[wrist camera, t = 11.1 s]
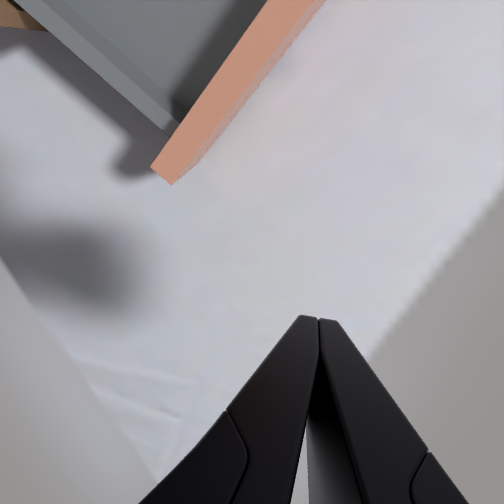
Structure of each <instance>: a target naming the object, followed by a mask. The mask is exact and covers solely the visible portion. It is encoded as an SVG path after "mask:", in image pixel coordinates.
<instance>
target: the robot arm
mask: <svg viewBox="0 0 504 504" xmlns="http://www.w3.org/2000/svg"><path fill="white" fill-rule="evenodd" d="M305 428H306V438H307V462H308V487H309V504H469V503H468V502H467V500H466V499H465V498H464V496H463V495H462V494H461V492H460V491H459V490H458V488H457V487H456V486H455V484H454V483H453V482H452V480H451V479H450V478H449V476H448V475H447V474H446V472H445V471H444V469H443V468H442V467H441V465H440V464H439V463H438V461H437V460H436V458H435V457H434V455H433V454H432V453H431V452H428V448H427V446H426V445H425V443H424V442H423V441H422V439H421V438H420V436H419V435H418V433H417V432H416V430H415V429H414V428H413V426H412V425H411V424H410V422H409V421H408V419H407V418H406V416H405V415H404V414H403V412H402V411H401V409H400V408H399V407H398V405H397V404H396V403H395V401H394V400H393V398H392V397H391V395H390V394H389V393H388V391H387V390H386V388H385V387H384V386H383V384H382V383H381V381H380V380H379V379H378V377H377V376H376V374H375V373H374V372H373V370H372V369H371V367H370V366H369V364H368V363H367V362H366V360H365V359H364V357H363V356H362V355H361V353H360V352H359V350H358V349H357V348H356V346H355V345H354V343H353V342H352V341H351V339H350V338H349V336H348V335H347V334H346V332H345V331H344V329H343V328H342V327H341V325H340V324H339V323H338V322H337V321H335V320H330V319H324V318H320V319H319V320H318V319H317V318H316V317H312V316H306V315H299V316H298V317H297V319H296V320H295V321H294V322H293V324H292V325H291V326H290V328H289V329H288V330H287V331H286V333H285V334H284V335H283V336H282V338H281V339H280V340H279V342H278V343H277V344H276V345H275V347H274V348H273V349H272V351H271V352H270V353H269V354H268V356H267V357H266V358H265V359H264V361H263V362H262V363H261V365H260V366H259V367H258V368H257V370H256V371H255V372H254V374H253V375H252V376H251V377H250V379H249V380H248V381H247V382H246V384H245V385H244V386H243V388H242V389H241V390H240V391H239V393H238V394H237V395H236V397H235V398H234V399H233V400H232V402H231V403H230V404H229V405H228V407H227V408H226V411H224V412H223V413H222V414H221V415H220V417H219V418H218V419H217V420H216V422H215V423H214V424H213V426H212V427H211V428H210V429H209V430H208V432H207V433H206V434H205V435H204V436H203V437H202V439H201V440H200V441H199V442H198V443H197V445H196V446H195V447H194V448H193V449H192V450H191V451H190V452H189V453H188V454H187V455H186V456H185V457H184V458H183V459H182V461H181V462H180V463H179V464H178V465H177V466H176V467H175V468H174V469H173V470H172V471H171V472H170V473H169V474H168V475H167V476H166V477H165V478H164V479H163V480H162V481H161V482H160V483H159V484H158V485H157V486H156V487H155V488H154V489H153V490H152V491H151V492H150V493H149V494H148V495H147V496H146V497H145V498H144V499H143V500H142V501H140V502H139V503H138V504H290V503H291V498H292V493H293V488H294V483H295V478H296V473H297V467H298V463H299V458H300V453H301V448H302V443H303V438H304V433H305ZM427 452H428V453H427Z"/></svg>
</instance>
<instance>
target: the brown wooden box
mask: <svg viewBox="0 0 504 504" xmlns="http://www.w3.org/2000/svg"><path fill="white" fill-rule="evenodd" d="M0 26H3V27H13V28H22V29H31V30H40V31H48V30H47V29H46V28H45V27H44V26H43V25H41V24H40V23H39V22H38V21H37V20H36V19H35V18H33V17H32V16H31V15H30V14H29V13H28V12H27V11H25V10H24V9H23V8H22V7H21V6H20V5H19V4H17V3H16V2H15V1H14V0H0Z"/></svg>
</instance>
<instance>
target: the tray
mask: <svg viewBox="0 0 504 504" xmlns="http://www.w3.org/2000/svg"><path fill="white" fill-rule="evenodd" d="M14 1H15V2H16V3H17V4H19V5H20V6H21V7H22V8H23V9H24V10H25V11H27V12H28V13H29V14H30V15H31V16H32V17H33V18H35V19H36V20H37V21H38V22H39V23H40V24H41V25H43V26H44V27H45V28H46V29H47V30H48V31H49V32H50V33H52V34H53V35H54V36H55V37H56V38H57V39H58V40H60V41H61V42H62V43H63V44H64V45H65V46H66V47H68V48H69V49H70V50H71V51H72V52H73V53H74V54H76V55H77V56H78V57H79V58H80V59H81V60H82V61H84V62H85V63H86V64H87V65H88V66H89V67H90V68H92V69H93V70H94V71H95V72H96V73H97V74H98V75H100V76H101V77H102V78H103V79H104V80H105V81H106V82H107V83H109V84H110V85H111V86H112V87H113V88H114V89H115V90H117V91H118V92H119V93H120V94H121V95H122V96H123V97H125V98H126V99H127V100H128V101H129V102H130V103H131V104H133V105H134V106H135V107H136V108H137V109H138V110H139V111H141V112H142V113H143V114H144V115H145V116H146V117H147V118H149V119H150V120H151V121H152V122H153V123H154V124H155V125H157V126H158V127H159V128H160V129H161V130H162V131H163V132H165V133H166V134H167V135H168V136H169V137H170V139H169V141H168V142H167V144H166V145H165V146H164V148H163V149H162V151H161V152H160V153H159V155H158V156H157V158H156V159H155V160H154V162H153V163H152V165H151V166H150V168H152V169H153V170H154V171H155V172H156V173H157V174H159V175H160V176H161V177H162V178H163V179H165V180H166V181H167V182H168V183H169V184H170V185H172V184H174V183H175V182H176V181H177V180H178V179H180V178H181V177H182V176H183V175H184V174H186V173H187V172H188V171H189V170H190V169H192V168H193V167H194V166H195V165H197V164H198V163H199V161H200V160H201V159H202V158H203V156H204V155H205V154H206V152H207V151H208V150H209V149H210V147H211V146H212V145H213V144H214V142H215V141H216V140H217V138H218V137H219V136H220V135H221V133H222V132H223V131H224V129H225V128H226V127H227V126H228V124H229V123H230V122H231V121H232V119H233V118H234V117H235V115H236V114H237V113H238V112H239V110H240V109H241V108H242V107H243V105H244V104H245V103H246V101H247V100H248V99H249V98H250V96H251V95H252V94H253V93H254V91H255V90H256V89H257V87H258V86H259V85H260V84H261V82H262V81H263V80H264V78H265V77H266V76H267V75H268V73H269V72H270V71H271V70H272V68H273V67H274V66H275V64H276V63H277V62H278V61H279V59H280V58H281V57H282V56H283V54H284V53H285V52H286V50H287V49H288V48H289V47H290V45H291V44H292V43H293V42H294V40H295V39H296V38H297V36H298V35H299V34H300V33H301V31H302V30H303V29H304V27H305V26H306V25H307V24H308V22H309V21H310V20H311V19H312V17H313V16H314V15H315V13H316V12H317V11H318V10H319V8H320V7H321V6H322V5H323V3H324V2H325V1H326V0H14Z"/></svg>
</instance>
